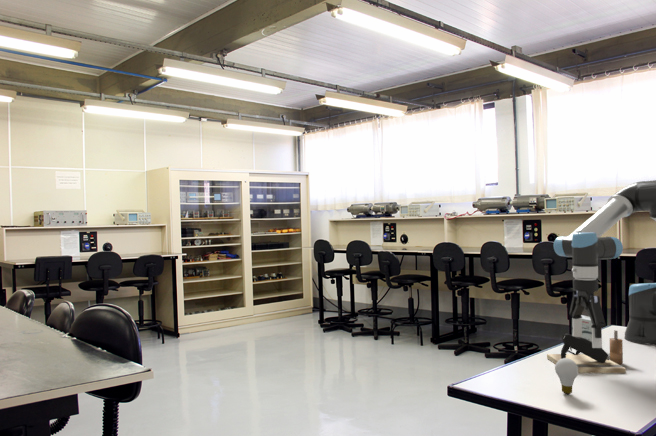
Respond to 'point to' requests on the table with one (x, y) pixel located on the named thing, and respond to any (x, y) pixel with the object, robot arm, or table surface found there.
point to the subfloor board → (589, 364)
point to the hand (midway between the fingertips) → (587, 342)
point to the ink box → (585, 327)
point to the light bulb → (566, 374)
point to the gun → (582, 348)
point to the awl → (616, 349)
